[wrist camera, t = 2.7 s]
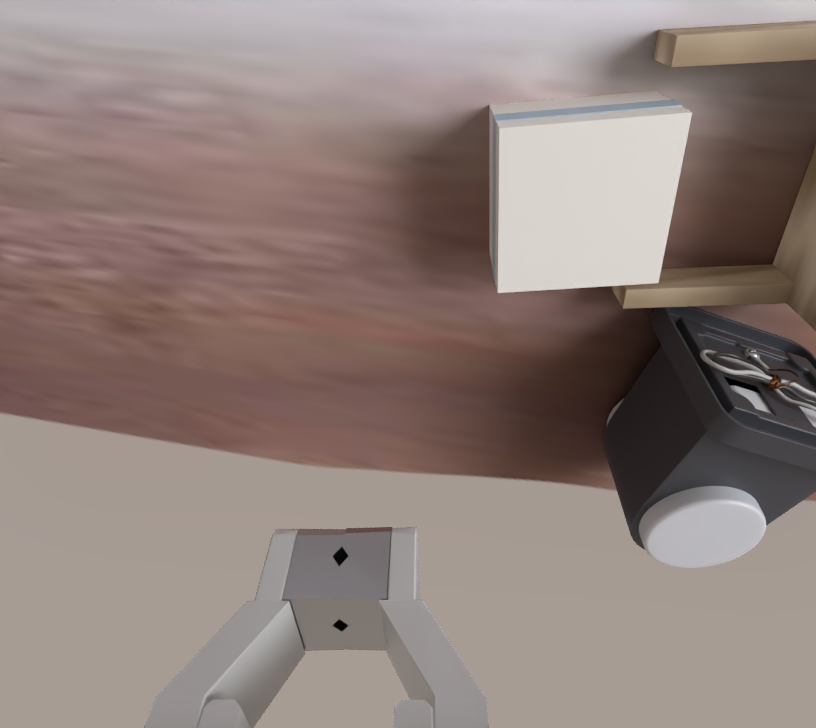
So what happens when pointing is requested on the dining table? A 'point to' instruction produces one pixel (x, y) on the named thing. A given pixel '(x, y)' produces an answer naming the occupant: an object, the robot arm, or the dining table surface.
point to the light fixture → (713, 438)
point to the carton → (583, 189)
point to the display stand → (812, 212)
